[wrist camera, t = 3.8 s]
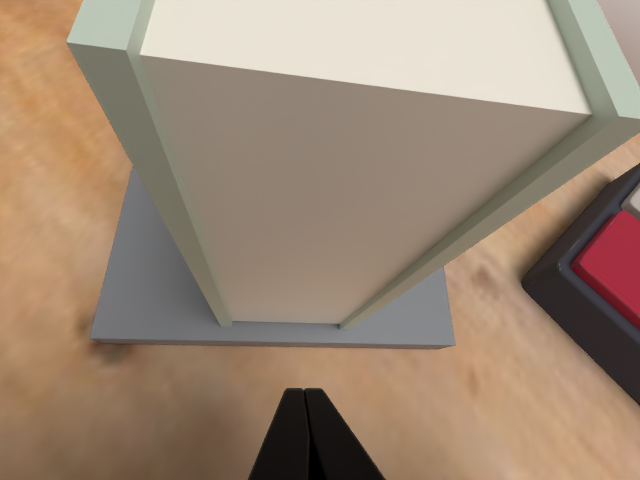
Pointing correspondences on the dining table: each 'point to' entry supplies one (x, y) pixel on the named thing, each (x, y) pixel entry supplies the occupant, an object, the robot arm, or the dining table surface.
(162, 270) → the shelf board
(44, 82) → the dining table surface
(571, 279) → the calculator
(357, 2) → the book
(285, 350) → the dining table surface
